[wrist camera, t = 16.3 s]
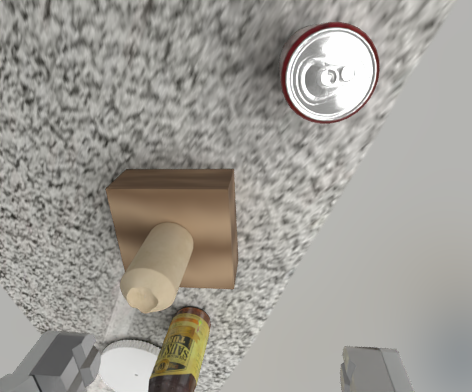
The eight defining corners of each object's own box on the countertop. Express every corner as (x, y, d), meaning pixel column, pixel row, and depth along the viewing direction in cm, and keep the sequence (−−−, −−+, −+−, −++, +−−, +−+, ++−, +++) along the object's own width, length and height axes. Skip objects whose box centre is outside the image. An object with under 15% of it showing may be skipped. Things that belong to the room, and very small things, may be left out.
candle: (192, 222, 38) (168, 280, 30) (195, 261, 41) (173, 325, 32) (146, 220, 39) (108, 276, 30) (151, 258, 41) (118, 320, 32)
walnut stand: (126, 169, 43) (105, 188, 38) (233, 169, 41) (227, 189, 36) (144, 257, 49) (128, 285, 44) (238, 260, 48) (233, 289, 42)
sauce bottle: (201, 300, 52) (163, 440, 34) (218, 327, 54) (191, 472, 36) (165, 310, 54) (111, 448, 36) (183, 336, 56) (141, 478, 38)
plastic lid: (177, 339, 57) (174, 352, 55) (179, 391, 63) (176, 404, 61) (98, 330, 58) (91, 342, 55) (108, 382, 64) (102, 394, 62)
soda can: (281, 102, 37) (284, 130, 27) (275, 30, 34) (276, 30, 24) (348, 94, 36) (379, 120, 26) (349, 19, 33) (385, 13, 22)
